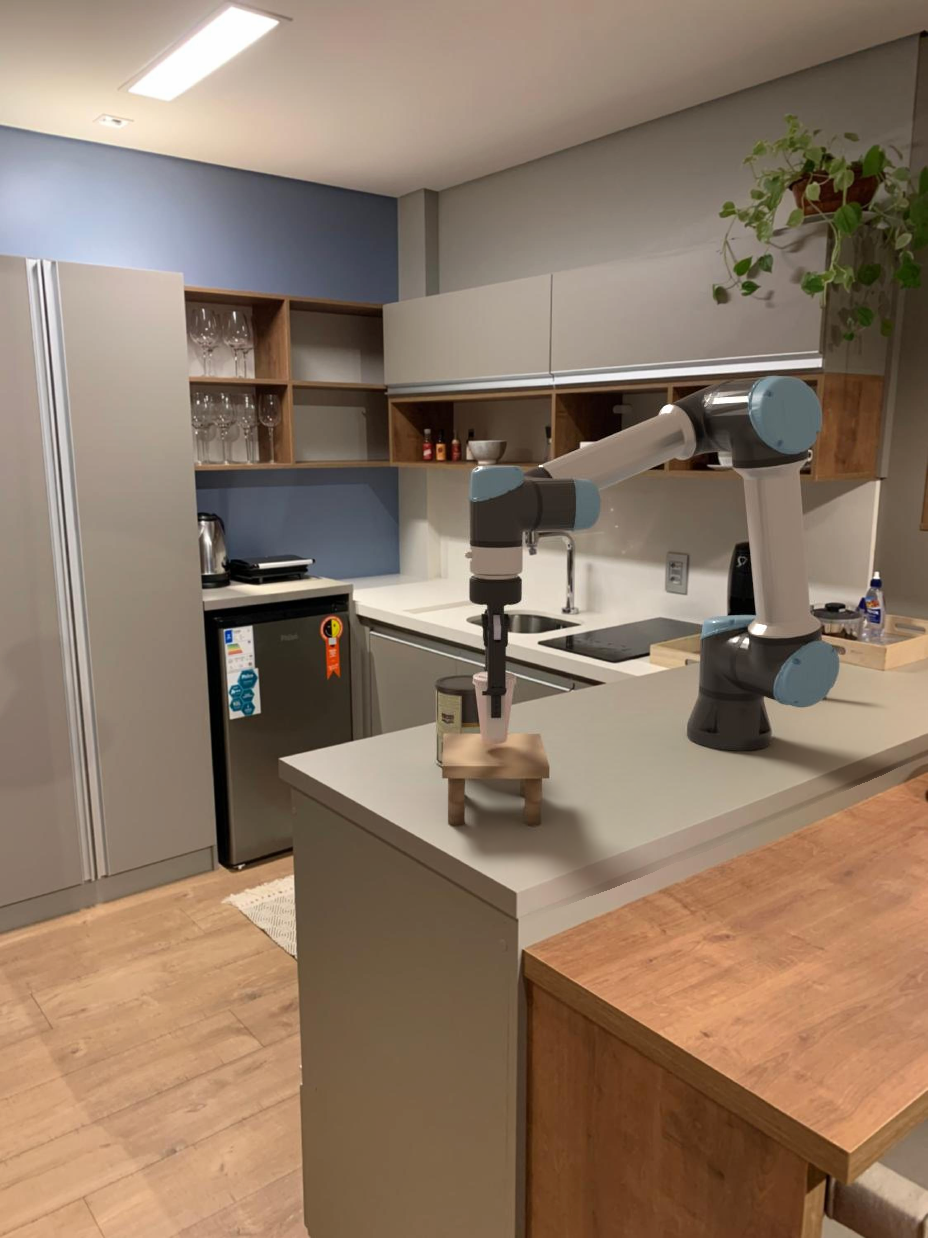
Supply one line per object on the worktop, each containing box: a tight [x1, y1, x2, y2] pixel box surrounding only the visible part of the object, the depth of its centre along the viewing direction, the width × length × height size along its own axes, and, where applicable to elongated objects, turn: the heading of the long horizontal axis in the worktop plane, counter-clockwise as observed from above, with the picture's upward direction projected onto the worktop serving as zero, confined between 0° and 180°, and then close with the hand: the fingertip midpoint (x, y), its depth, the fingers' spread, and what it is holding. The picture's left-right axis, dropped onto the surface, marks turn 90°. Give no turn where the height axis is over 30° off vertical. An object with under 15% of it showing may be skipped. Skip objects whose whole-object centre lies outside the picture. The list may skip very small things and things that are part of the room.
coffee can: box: [434, 674, 481, 768], centre depth 159 cm, size 10×10×14 cm
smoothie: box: [473, 671, 517, 744], centre depth 137 cm, size 6×6×14 cm
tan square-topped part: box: [441, 733, 551, 827], centre depth 139 cm, size 15×15×9 cm
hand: (494, 730), depth 138 cm, fingers closed on smoothie, 6 cm apart
